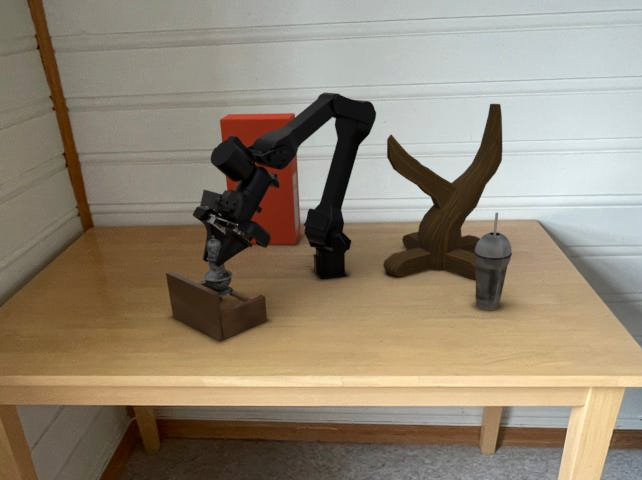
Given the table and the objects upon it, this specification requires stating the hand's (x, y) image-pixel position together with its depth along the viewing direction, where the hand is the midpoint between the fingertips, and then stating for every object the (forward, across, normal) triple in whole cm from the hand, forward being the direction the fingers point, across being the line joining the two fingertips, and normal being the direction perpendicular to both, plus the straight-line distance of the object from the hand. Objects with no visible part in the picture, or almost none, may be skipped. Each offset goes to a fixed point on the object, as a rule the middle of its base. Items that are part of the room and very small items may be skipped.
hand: (210, 263), depth 126 cm
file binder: (-18, -30, +37) cm, 51 cm away
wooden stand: (-29, +15, +48) cm, 58 cm away
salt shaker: (+4, 0, +6) cm, 7 cm away
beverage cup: (-20, +37, +39) cm, 57 cm away
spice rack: (+9, 0, +9) cm, 12 cm away
